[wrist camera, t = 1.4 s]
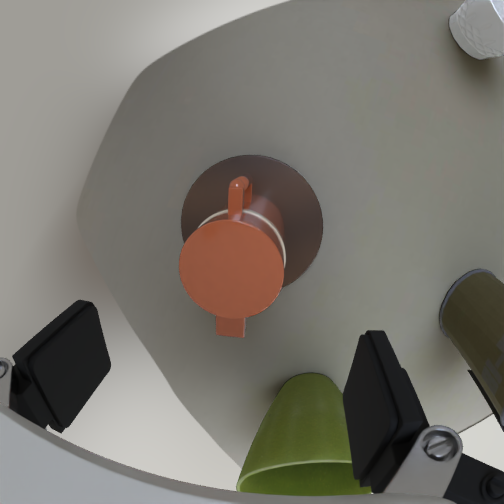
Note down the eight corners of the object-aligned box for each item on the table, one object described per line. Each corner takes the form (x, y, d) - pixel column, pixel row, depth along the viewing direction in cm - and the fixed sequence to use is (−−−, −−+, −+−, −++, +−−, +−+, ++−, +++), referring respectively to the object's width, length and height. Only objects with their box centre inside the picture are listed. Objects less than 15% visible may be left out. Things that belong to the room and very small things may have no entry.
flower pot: (286, 433, 40) (281, 518, 25) (231, 378, 37) (205, 478, 22) (374, 398, 36) (396, 489, 21) (333, 331, 33) (354, 443, 18)
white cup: (500, 68, 19) (549, 55, 10) (456, 60, 21) (506, 39, 11) (480, 15, 17) (522, -8, 8) (435, 4, 18) (474, -29, 9)
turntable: (168, 178, 29) (163, 180, 28) (301, 139, 26) (302, 138, 25) (209, 298, 33) (206, 304, 32) (333, 271, 30) (335, 277, 29)
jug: (216, 169, 27) (174, 180, 16) (289, 173, 26) (293, 185, 16) (215, 273, 30) (182, 333, 20) (281, 278, 30) (278, 344, 19)
